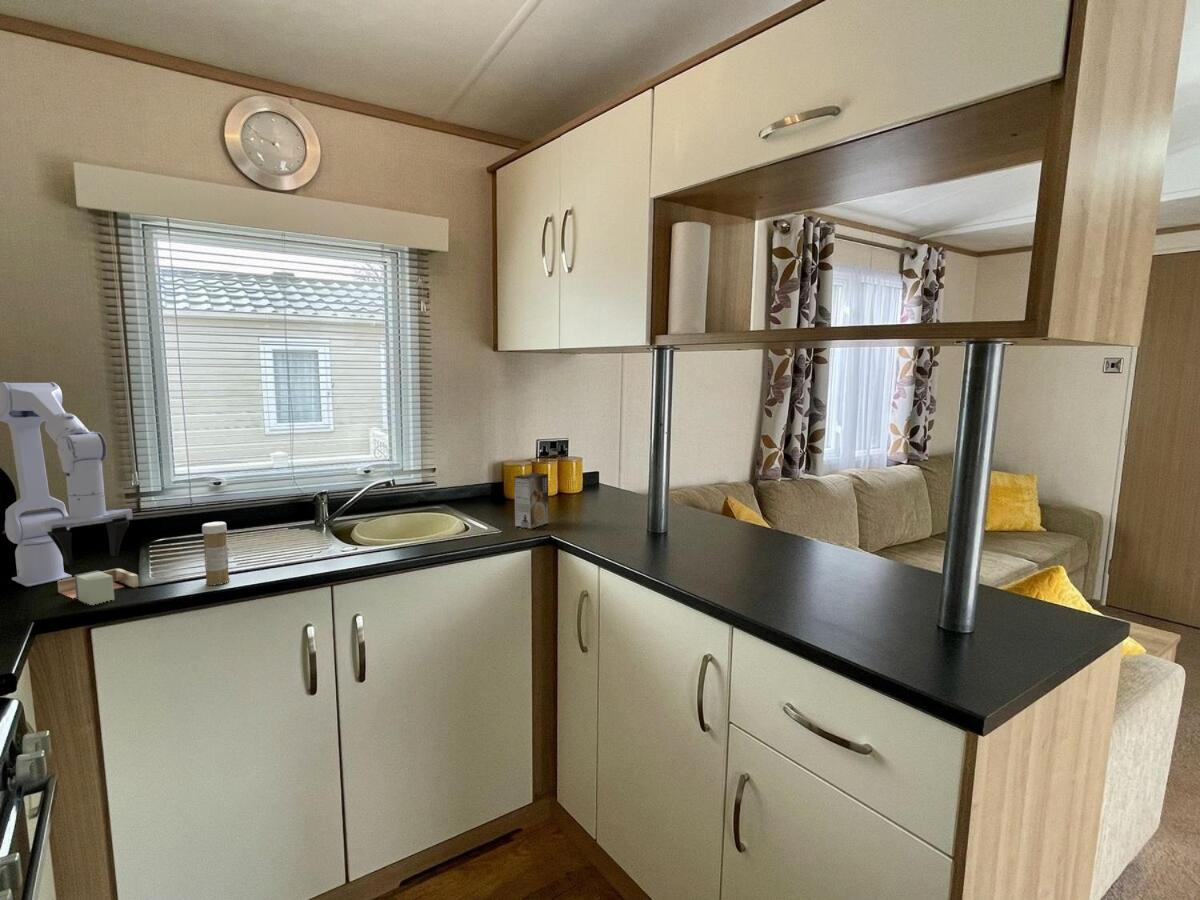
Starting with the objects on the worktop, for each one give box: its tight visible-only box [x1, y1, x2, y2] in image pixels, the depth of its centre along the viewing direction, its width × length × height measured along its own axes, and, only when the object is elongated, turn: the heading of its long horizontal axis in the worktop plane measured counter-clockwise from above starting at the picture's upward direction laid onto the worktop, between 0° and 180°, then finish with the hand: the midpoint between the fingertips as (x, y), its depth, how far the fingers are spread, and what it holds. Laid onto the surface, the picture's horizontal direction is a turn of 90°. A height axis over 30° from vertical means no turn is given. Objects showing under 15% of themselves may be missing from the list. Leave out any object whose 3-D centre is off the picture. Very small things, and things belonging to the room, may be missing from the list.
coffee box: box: [513, 472, 550, 528], centre depth 194 cm, size 9×6×16 cm
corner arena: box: [56, 567, 140, 600], centre depth 135 cm, size 10×11×2 cm
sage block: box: [73, 570, 116, 606], centre depth 129 cm, size 4×7×5 cm, turn 58°
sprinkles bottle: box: [201, 521, 230, 586], centre depth 139 cm, size 5×5×13 cm
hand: (92, 559), depth 128 cm, fingers open, 7 cm apart
